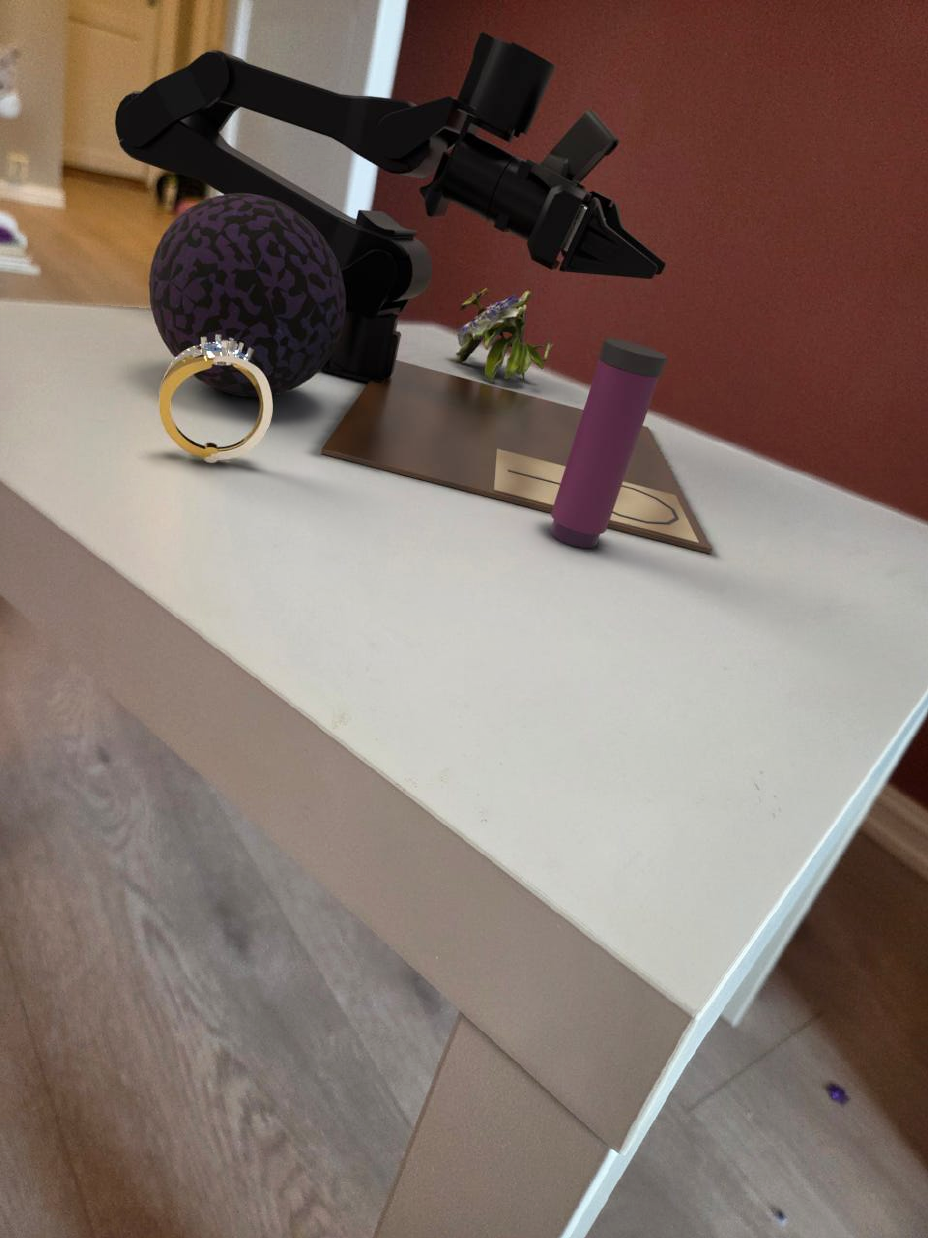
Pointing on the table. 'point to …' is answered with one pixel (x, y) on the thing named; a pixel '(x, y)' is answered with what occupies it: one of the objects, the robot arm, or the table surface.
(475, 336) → the passion flower
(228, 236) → the toy ball
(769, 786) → the table surface
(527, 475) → the board
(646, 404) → the dauber
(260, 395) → the ring
